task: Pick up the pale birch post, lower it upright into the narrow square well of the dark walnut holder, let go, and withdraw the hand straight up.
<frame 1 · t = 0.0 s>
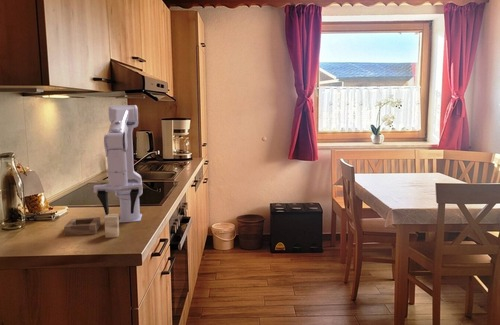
hand: (119, 213, 130), 10 cm above the worktop, fingers open, 7 cm apart
walnut holder: (83, 230, 146), on the worktop
birch post: (112, 235, 140), on the worktop
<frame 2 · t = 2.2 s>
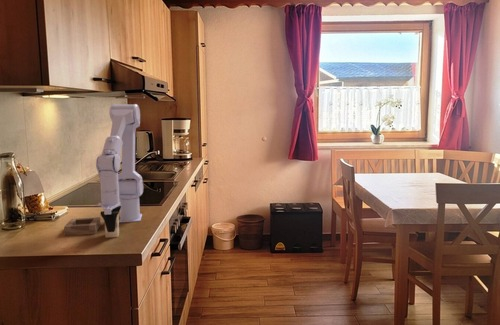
hand: (112, 229, 139), 2 cm above the worktop, fingers closed on birch post, 4 cm apart
birch post: (112, 235, 140), on the worktop, touching gripper
when the fingers open (4 cm above the worktop, at t = 6.2 s): birch post drops 1 cm, resting on walnut holder.
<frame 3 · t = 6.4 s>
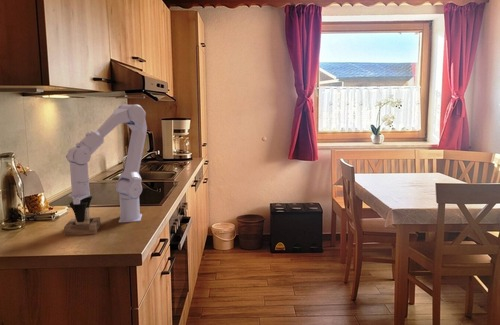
hand: (82, 219, 145), 4 cm above the worktop, fingers open, 6 cm apart
birch post: (83, 228, 145), resting on walnut holder
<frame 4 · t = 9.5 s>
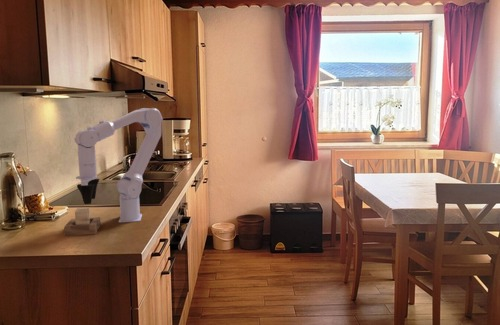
hand: (89, 201, 148), 9 cm above the worktop, fingers open, 7 cm apart
nothing on the worktop moved.
at the end: birch post 0.1 cm off-centre on the walnut holder, point 0.5 cm above the walnut holder's base; birch post tilted 0°; the gripper is holding nothing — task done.
